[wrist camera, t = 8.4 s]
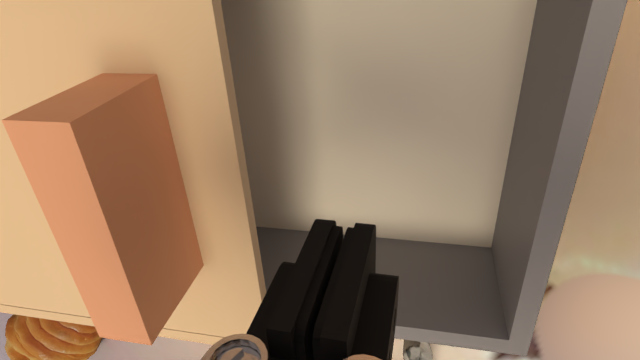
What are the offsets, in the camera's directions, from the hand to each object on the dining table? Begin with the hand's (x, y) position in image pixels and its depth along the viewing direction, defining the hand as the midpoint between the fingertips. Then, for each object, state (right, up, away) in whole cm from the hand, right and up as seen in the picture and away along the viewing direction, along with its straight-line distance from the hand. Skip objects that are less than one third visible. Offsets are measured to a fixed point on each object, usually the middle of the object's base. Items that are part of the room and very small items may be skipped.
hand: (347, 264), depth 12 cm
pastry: (-21, -9, +24) cm, 33 cm away
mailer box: (-1, +6, +9) cm, 11 cm away
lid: (-13, +4, +7) cm, 16 cm away
